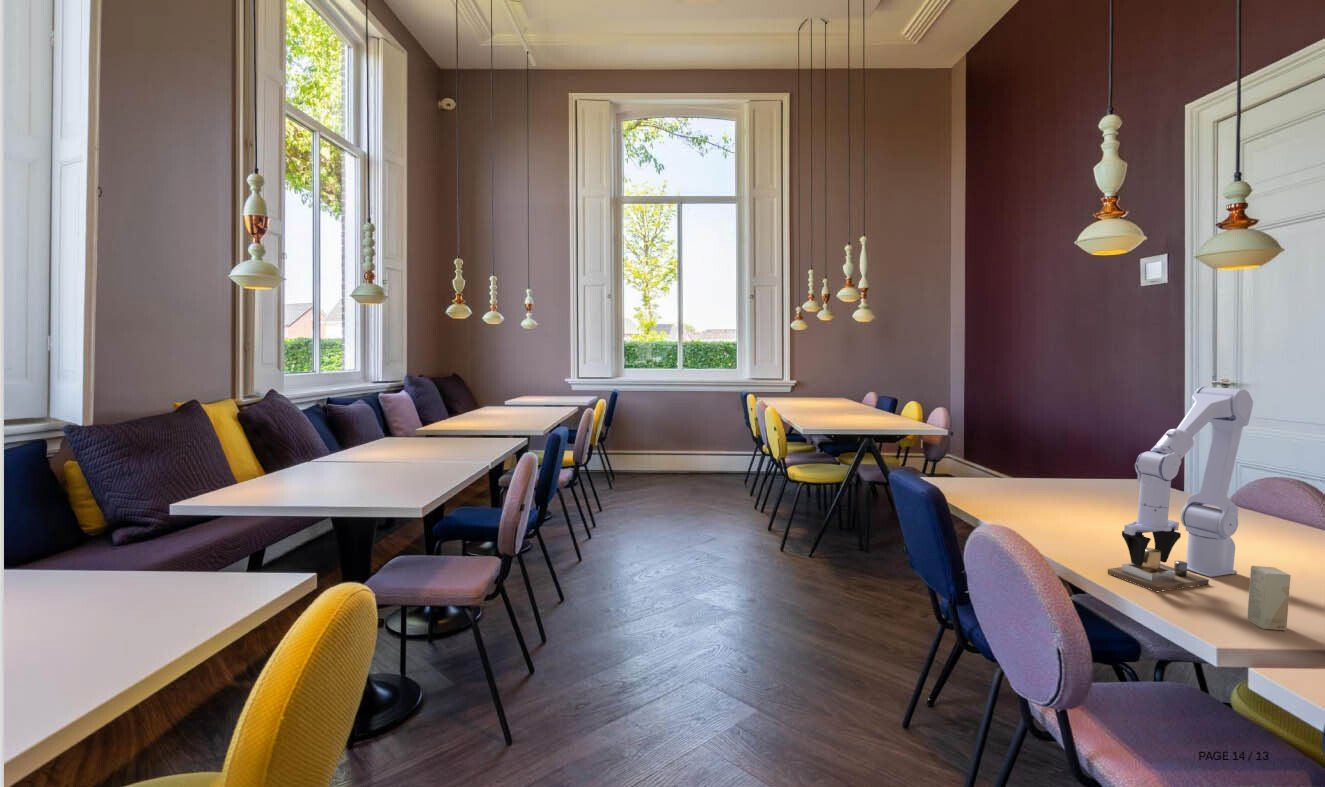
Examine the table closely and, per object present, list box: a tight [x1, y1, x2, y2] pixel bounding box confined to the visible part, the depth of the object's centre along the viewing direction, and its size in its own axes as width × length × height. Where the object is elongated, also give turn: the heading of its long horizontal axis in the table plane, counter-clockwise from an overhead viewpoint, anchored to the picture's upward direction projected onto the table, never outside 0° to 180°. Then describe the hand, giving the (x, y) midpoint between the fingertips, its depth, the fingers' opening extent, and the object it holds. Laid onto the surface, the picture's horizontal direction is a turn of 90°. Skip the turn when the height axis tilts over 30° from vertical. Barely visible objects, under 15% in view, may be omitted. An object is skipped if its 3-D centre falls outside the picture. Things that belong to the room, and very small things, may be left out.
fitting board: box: [1107, 560, 1209, 592], centre depth 164 cm, size 16×12×4 cm
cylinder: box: [1139, 547, 1161, 573], centre depth 162 cm, size 4×4×6 cm
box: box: [1246, 565, 1292, 631], centre depth 138 cm, size 5×4×11 cm
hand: (1148, 562), depth 162 cm, fingers open, 7 cm apart
